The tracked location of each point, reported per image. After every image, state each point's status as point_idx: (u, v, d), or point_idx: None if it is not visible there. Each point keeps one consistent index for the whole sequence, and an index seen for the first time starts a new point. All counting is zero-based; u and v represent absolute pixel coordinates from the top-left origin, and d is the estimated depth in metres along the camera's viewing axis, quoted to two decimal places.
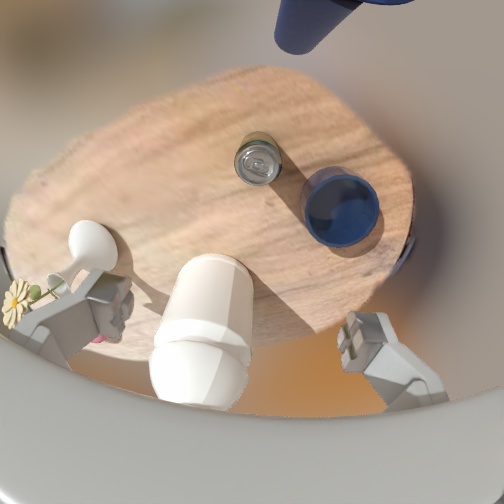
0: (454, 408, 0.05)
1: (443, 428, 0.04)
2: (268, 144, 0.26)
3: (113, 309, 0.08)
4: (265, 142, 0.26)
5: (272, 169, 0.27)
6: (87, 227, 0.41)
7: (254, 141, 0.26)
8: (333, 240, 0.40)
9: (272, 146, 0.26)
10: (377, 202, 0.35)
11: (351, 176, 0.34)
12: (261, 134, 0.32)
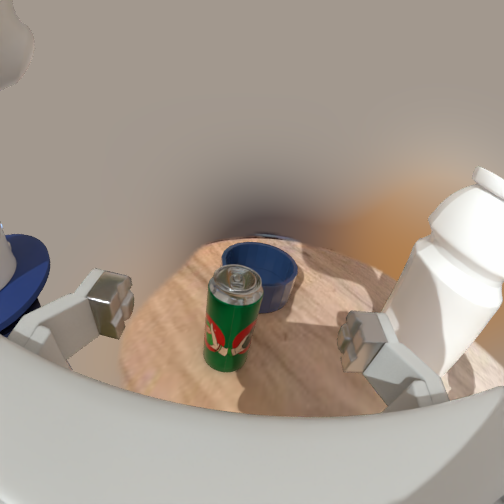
0: (454, 408, 0.05)
1: (443, 428, 0.04)
2: (211, 279, 0.24)
3: (113, 309, 0.08)
4: (209, 283, 0.24)
5: (237, 269, 0.25)
6: None
7: (211, 291, 0.23)
8: (290, 268, 0.41)
9: (212, 277, 0.25)
10: (238, 243, 0.43)
11: (223, 261, 0.38)
12: None
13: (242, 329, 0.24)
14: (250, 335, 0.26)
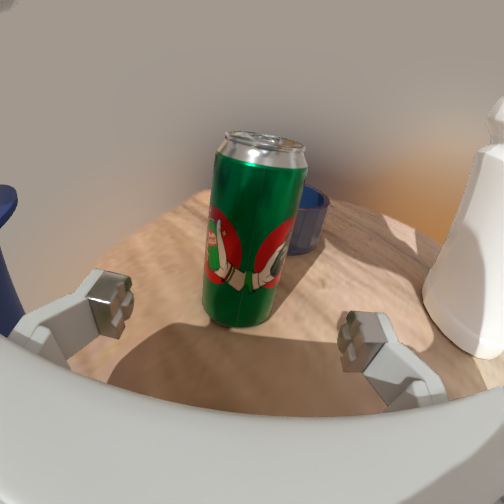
0: (454, 408, 0.05)
1: (443, 428, 0.04)
2: None
3: (112, 309, 0.08)
4: (218, 149, 0.14)
5: None
6: None
7: (220, 153, 0.13)
8: (318, 202, 0.31)
9: None
10: None
11: None
12: (205, 254, 0.17)
13: (274, 227, 0.14)
14: (284, 249, 0.15)
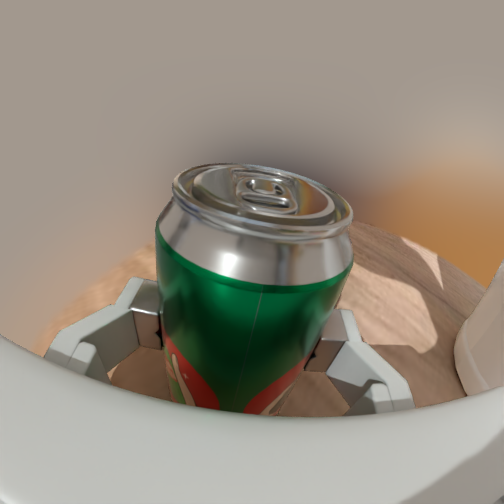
0: (454, 408, 0.05)
1: (443, 428, 0.04)
2: None
3: (159, 320, 0.08)
4: (163, 210, 0.07)
5: (260, 175, 0.08)
6: None
7: (160, 231, 0.06)
8: None
9: None
10: None
11: None
12: None
13: (280, 375, 0.07)
14: (295, 382, 0.08)
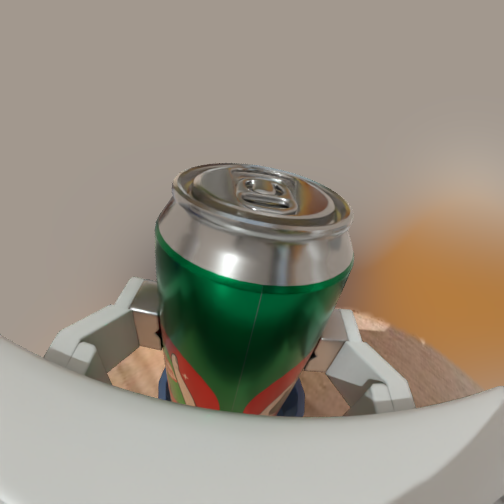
0: (454, 408, 0.05)
1: (443, 428, 0.04)
2: None
3: (159, 320, 0.08)
4: (163, 210, 0.07)
5: (260, 175, 0.08)
6: None
7: (160, 232, 0.06)
8: (291, 390, 0.20)
9: None
10: None
11: (160, 395, 0.17)
12: None
13: (280, 375, 0.07)
14: (295, 382, 0.08)
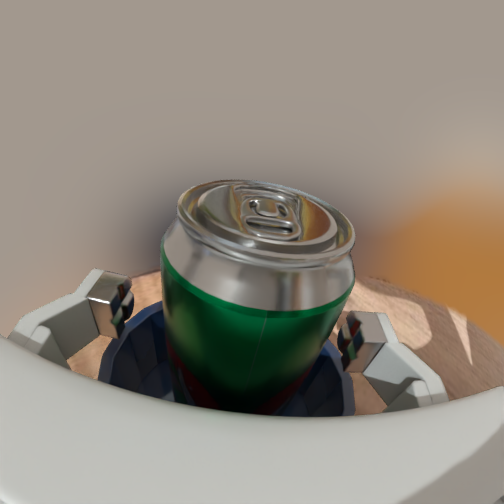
0: (454, 408, 0.05)
1: (443, 428, 0.04)
2: None
3: (113, 309, 0.08)
4: (167, 230, 0.07)
5: (263, 192, 0.08)
6: None
7: (166, 254, 0.06)
8: (326, 375, 0.12)
9: None
10: None
11: (101, 377, 0.09)
12: None
13: (282, 388, 0.07)
14: (296, 392, 0.08)
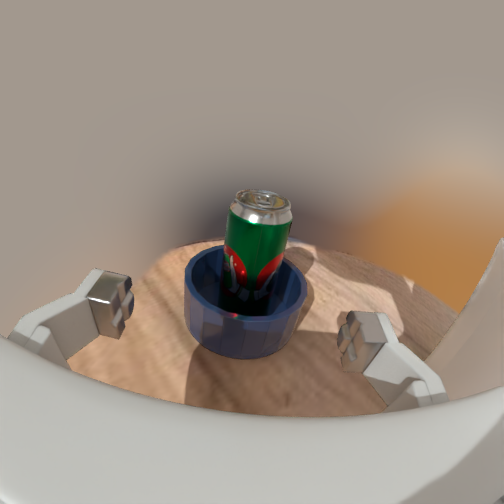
0: (454, 408, 0.05)
1: (443, 428, 0.04)
2: (232, 203, 0.21)
3: (112, 309, 0.08)
4: (230, 206, 0.21)
5: (261, 194, 0.22)
6: None
7: (232, 212, 0.20)
8: (295, 284, 0.26)
9: (233, 201, 0.22)
10: (214, 247, 0.28)
11: (186, 276, 0.23)
12: None
13: (269, 261, 0.21)
14: (276, 274, 0.23)
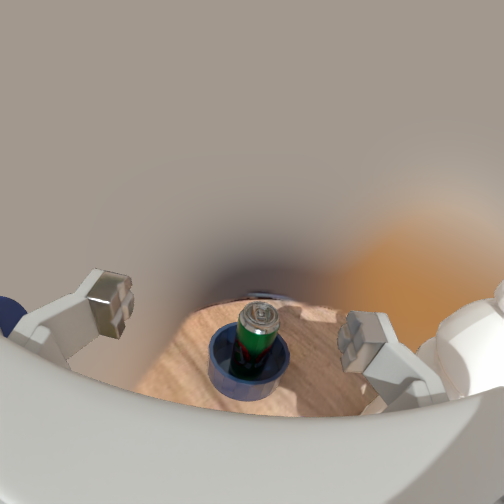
0: (454, 408, 0.05)
1: (443, 428, 0.04)
2: (240, 314, 0.32)
3: (113, 309, 0.08)
4: (239, 316, 0.32)
5: (260, 305, 0.33)
6: None
7: (241, 323, 0.31)
8: (282, 352, 0.37)
9: (241, 311, 0.32)
10: (227, 325, 0.39)
11: (210, 353, 0.34)
12: (232, 351, 0.35)
13: (264, 350, 0.32)
14: (269, 353, 0.33)
